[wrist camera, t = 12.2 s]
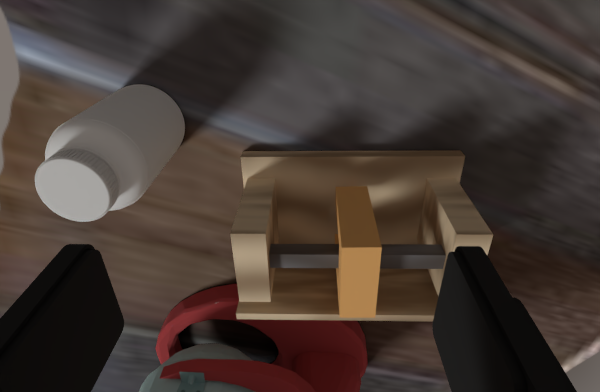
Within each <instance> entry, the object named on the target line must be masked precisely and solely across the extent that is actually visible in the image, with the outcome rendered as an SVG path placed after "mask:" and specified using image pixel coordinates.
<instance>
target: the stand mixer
mask: <svg viewBox="0 0 600 392" xmlns="http://www.w3.org/2000/svg"><path fill="white" fill-rule="evenodd" d="M238 302H239V294H238V287H237V284H230V285H224V286H218V287H213V288H210V289H207V290H204V291H201V292H198V293H196V294H194V295H192V296H190V297H188V298H186V299H184V300H183V301H181V302H180V303H179V304H178V305H177V306H175V307H174V308H173V309H172V310H171V311H170V313H169V315H168V316H167V318H166V319H165V321H164V324H163V326H162V328H161V331H160V333H159V336H158V340H157V344H156V351H157V355H158V358H159V360H160V363H161V365H160V366H159V367H158V369H156V370H155V371H153V372H152V373H150V374H149V375H148V377H147V378H146V379H145V381H144V382H143V384H142V386H141V388H140V391H139V392H359V390H360V385H361V377H362V376H363V375H364V373H365V370H366V367H367V364H368V361H367V349H366V341H365V335H364V333H363V331H362V329H361V326H360V324H359V323H358V321H348V320H260V319H237V317H236V311H237V307H238ZM211 319H223V320H235V321H238V322H241V323H245V324H248V325H251V326H254V327H255V328H257V329H258V330H260V331H261V332H263V333H264V334H266V335H267V336H268V337H270V338H271V339H272V340H273V341H274V342H275V344H276V346H277V348H278V350H279V355H278V356H277V358H276V360H275V361H274V362H273V363H272V364H269V363H264V362H260V361H253V360H252V359H250V358H249V357H248V356H246V355H245V354H244V353H242V352H241V351H240V350H238V349H236V348H233V347H230V346H227V345H223V344H217V343H207V344H198V345H195V346H192V347H190V348H187V349H184V350H183V349H182V347H181V344H180V342H179V339H178V334H179V333H180V332H181V331H183V330H184V329H185V328H186V327H187V326H189V325H190V324H192V323H197V322H202V321H206V320H211Z"/></svg>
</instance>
